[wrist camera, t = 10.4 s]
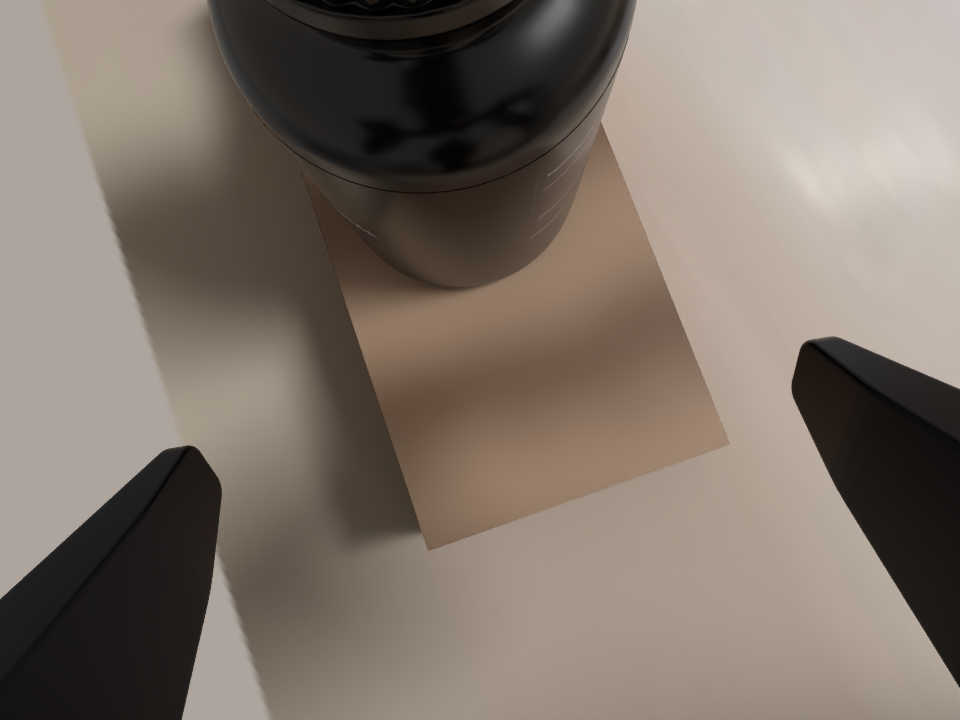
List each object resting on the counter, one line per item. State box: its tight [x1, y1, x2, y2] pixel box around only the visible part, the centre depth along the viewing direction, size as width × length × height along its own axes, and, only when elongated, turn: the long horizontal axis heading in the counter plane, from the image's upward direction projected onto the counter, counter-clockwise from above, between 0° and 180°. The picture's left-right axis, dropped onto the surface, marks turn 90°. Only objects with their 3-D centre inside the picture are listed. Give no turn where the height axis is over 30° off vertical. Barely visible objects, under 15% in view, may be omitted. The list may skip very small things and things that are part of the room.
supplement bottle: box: [207, 0, 637, 288], centre depth 11 cm, size 7×7×12 cm
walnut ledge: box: [300, 122, 730, 551], centre depth 19 cm, size 20×9×3 cm, turn 20°
